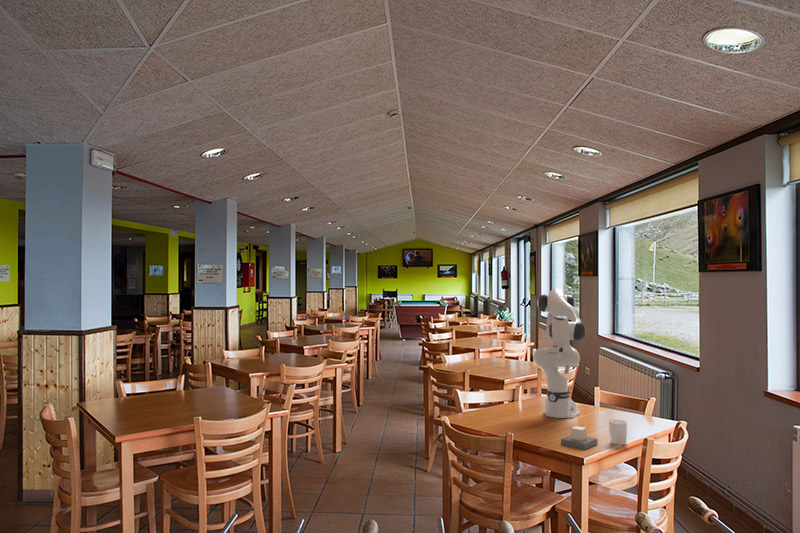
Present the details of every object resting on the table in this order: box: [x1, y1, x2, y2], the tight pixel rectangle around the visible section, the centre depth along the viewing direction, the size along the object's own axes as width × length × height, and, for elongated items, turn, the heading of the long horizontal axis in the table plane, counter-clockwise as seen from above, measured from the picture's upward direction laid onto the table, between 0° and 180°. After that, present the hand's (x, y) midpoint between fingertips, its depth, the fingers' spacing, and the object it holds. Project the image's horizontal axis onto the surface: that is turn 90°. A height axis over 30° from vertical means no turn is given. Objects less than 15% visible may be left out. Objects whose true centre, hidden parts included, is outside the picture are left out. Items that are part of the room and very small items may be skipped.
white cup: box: [608, 419, 628, 446], centre depth 244 cm, size 8×8×10 cm
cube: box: [570, 425, 588, 441], centre depth 243 cm, size 5×5×5 cm
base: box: [560, 434, 598, 450], centre depth 242 cm, size 12×12×2 cm
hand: (561, 374), depth 265 cm, fingers open, 8 cm apart
